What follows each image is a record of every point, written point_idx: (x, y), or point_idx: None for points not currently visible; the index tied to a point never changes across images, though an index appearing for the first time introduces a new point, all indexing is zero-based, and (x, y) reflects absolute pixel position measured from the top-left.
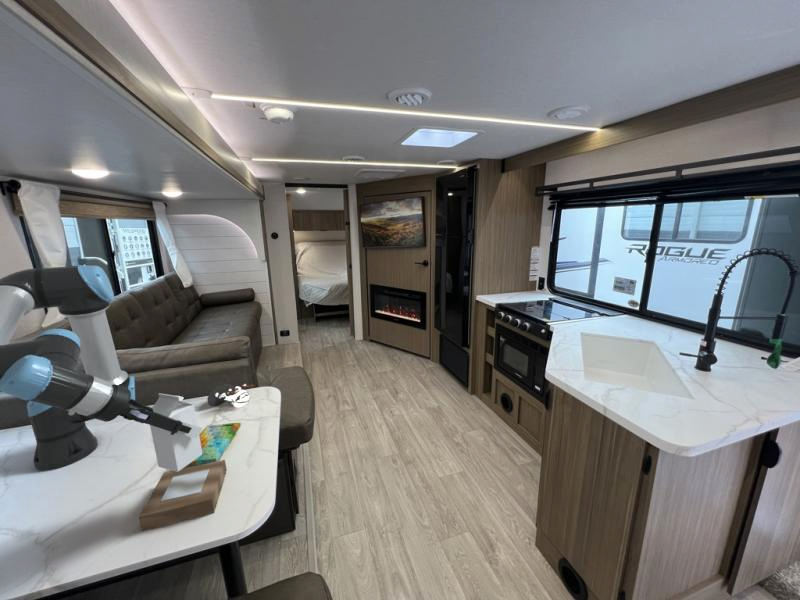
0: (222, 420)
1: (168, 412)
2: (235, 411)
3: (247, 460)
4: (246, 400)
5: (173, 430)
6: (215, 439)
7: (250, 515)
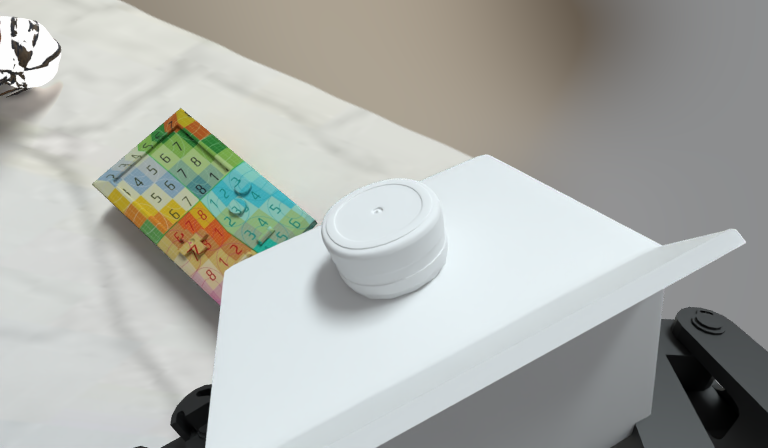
0: (78, 142)
1: (615, 407)
2: (63, 98)
3: (351, 164)
4: (55, 45)
5: (719, 389)
6: (214, 190)
7: None
